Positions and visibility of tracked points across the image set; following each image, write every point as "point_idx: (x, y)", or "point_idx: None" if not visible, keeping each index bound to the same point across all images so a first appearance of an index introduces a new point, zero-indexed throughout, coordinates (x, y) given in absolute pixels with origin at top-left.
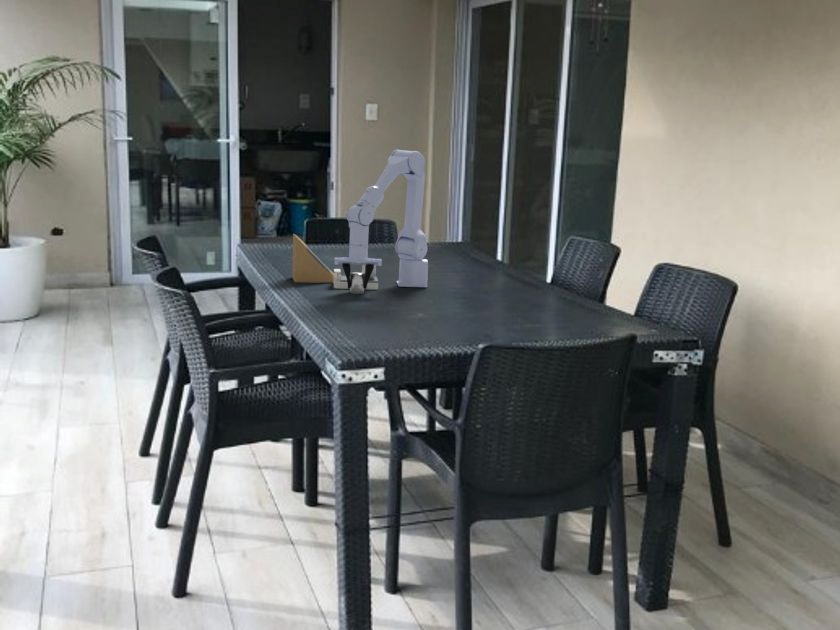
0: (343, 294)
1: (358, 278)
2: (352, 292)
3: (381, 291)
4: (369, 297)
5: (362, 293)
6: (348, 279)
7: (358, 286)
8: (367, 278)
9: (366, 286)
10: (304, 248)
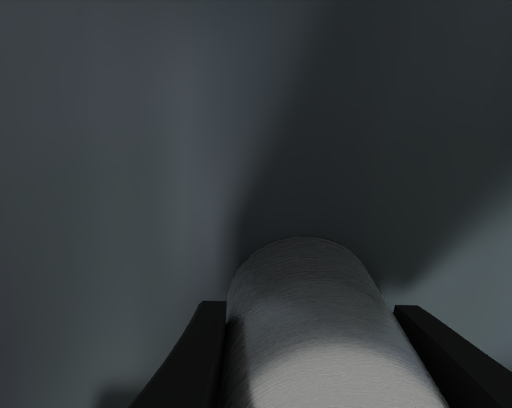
0: (467, 193)
1: (346, 372)
2: (357, 261)
3: (48, 367)
4: (178, 41)
5: (247, 258)
6: (499, 380)
7: (311, 283)
8: (165, 396)
9: (197, 314)
10: None
